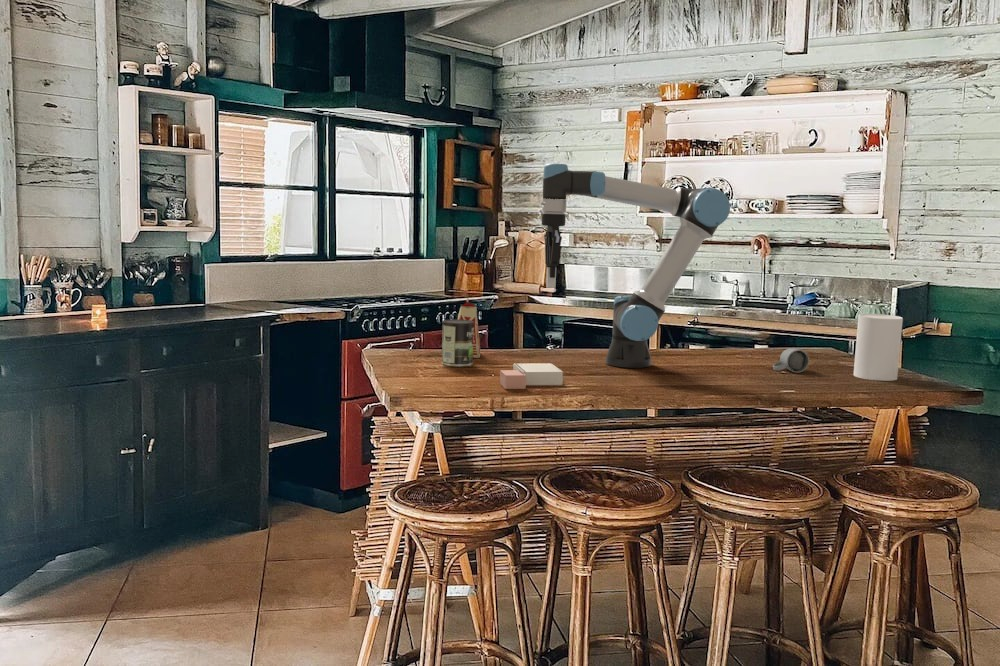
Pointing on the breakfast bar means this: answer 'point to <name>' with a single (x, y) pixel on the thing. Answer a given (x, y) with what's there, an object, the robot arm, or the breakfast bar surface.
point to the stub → (512, 379)
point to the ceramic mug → (792, 360)
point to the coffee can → (457, 342)
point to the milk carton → (470, 313)
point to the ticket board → (540, 373)
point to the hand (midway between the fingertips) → (550, 287)
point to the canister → (878, 347)
